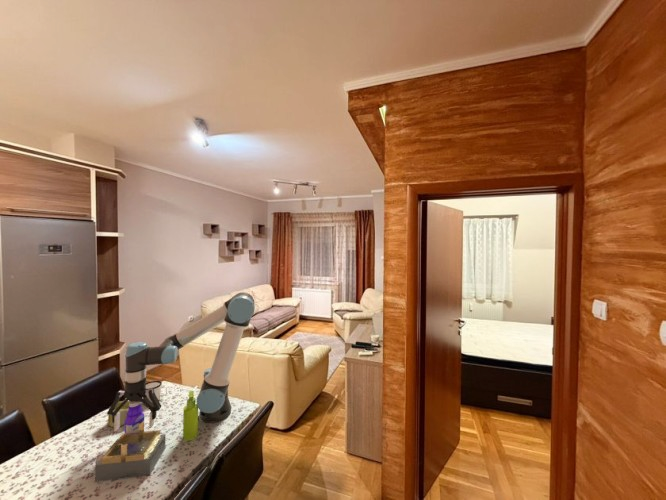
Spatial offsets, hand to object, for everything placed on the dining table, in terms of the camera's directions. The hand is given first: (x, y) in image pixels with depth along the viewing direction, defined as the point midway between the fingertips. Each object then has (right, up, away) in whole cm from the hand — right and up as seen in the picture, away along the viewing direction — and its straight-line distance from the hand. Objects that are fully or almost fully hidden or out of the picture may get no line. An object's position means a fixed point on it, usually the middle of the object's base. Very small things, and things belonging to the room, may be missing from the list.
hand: (134, 427), depth 121 cm
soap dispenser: (+23, -7, +3) cm, 24 cm away
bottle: (0, -6, 0) cm, 6 cm away
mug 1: (-15, -6, +12) cm, 20 cm away
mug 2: (-12, -6, +32) cm, 35 cm away
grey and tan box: (+7, -6, -13) cm, 16 cm away
